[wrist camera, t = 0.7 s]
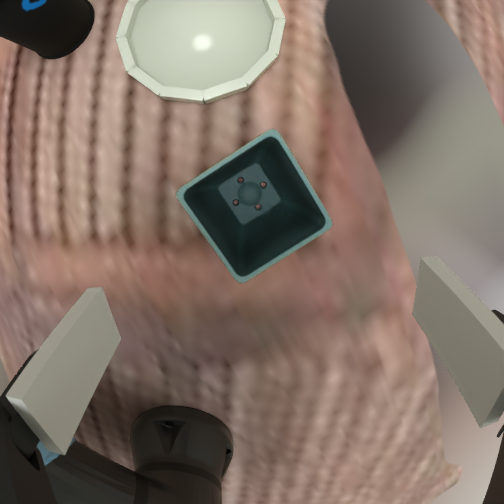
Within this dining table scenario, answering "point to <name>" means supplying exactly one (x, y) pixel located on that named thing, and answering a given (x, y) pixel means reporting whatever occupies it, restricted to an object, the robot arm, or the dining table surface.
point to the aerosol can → (46, 24)
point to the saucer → (199, 45)
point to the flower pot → (245, 213)
